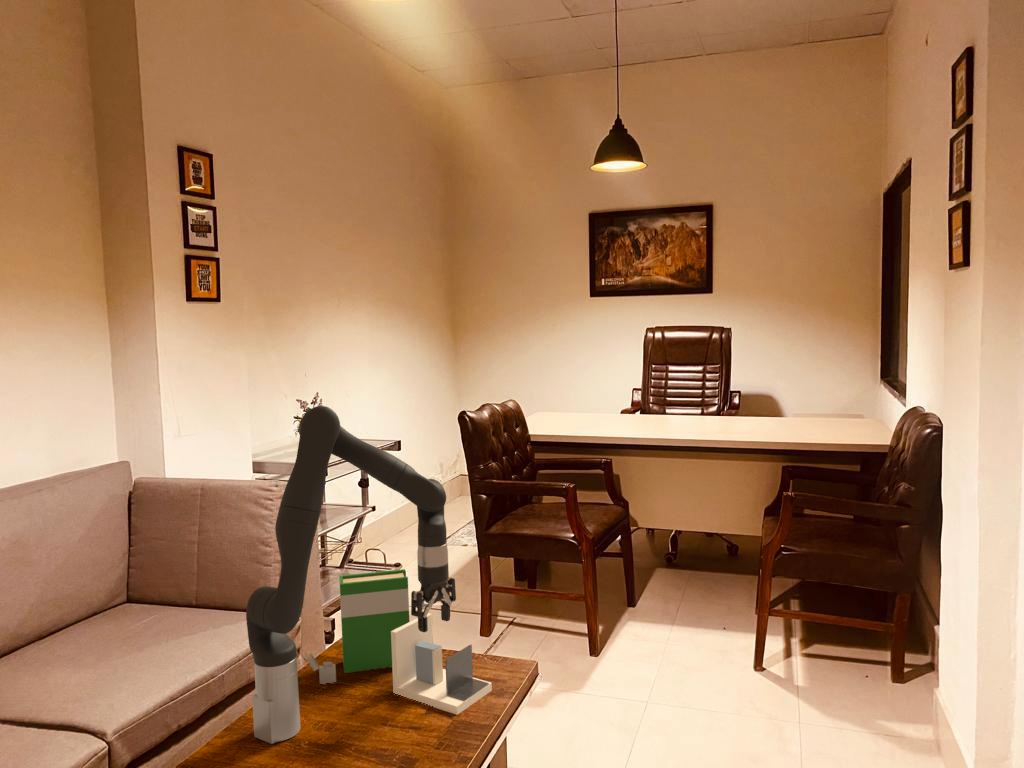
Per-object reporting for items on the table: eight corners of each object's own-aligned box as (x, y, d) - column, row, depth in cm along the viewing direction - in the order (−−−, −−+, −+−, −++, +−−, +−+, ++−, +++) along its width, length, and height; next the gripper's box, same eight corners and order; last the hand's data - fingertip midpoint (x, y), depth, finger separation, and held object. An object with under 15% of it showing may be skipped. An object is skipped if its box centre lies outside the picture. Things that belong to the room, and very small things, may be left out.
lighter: (336, 679, 205) (334, 649, 205) (336, 682, 204) (334, 652, 203) (307, 683, 204) (306, 653, 203) (307, 686, 202) (306, 656, 201)
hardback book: (408, 653, 220) (404, 569, 218) (411, 664, 213) (407, 577, 211) (343, 661, 216) (339, 575, 214) (344, 673, 209) (340, 584, 207)
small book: (435, 685, 196) (433, 650, 195) (416, 679, 200) (414, 645, 199) (443, 680, 199) (441, 645, 198) (424, 675, 202) (422, 640, 201)
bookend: (464, 701, 188) (463, 664, 187) (446, 695, 191) (445, 659, 190) (489, 684, 196) (487, 649, 195) (471, 679, 199) (470, 644, 198)
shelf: (457, 714, 185) (455, 648, 184) (393, 694, 197) (390, 631, 195) (491, 690, 197) (490, 628, 196) (429, 672, 208) (427, 612, 207)
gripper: (425, 571, 187) (427, 638, 188) (462, 556, 199) (464, 619, 200) (401, 566, 191) (403, 632, 192) (439, 552, 203) (441, 614, 204)
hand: (434, 625), depth 196 cm, fingers open, 8 cm apart
